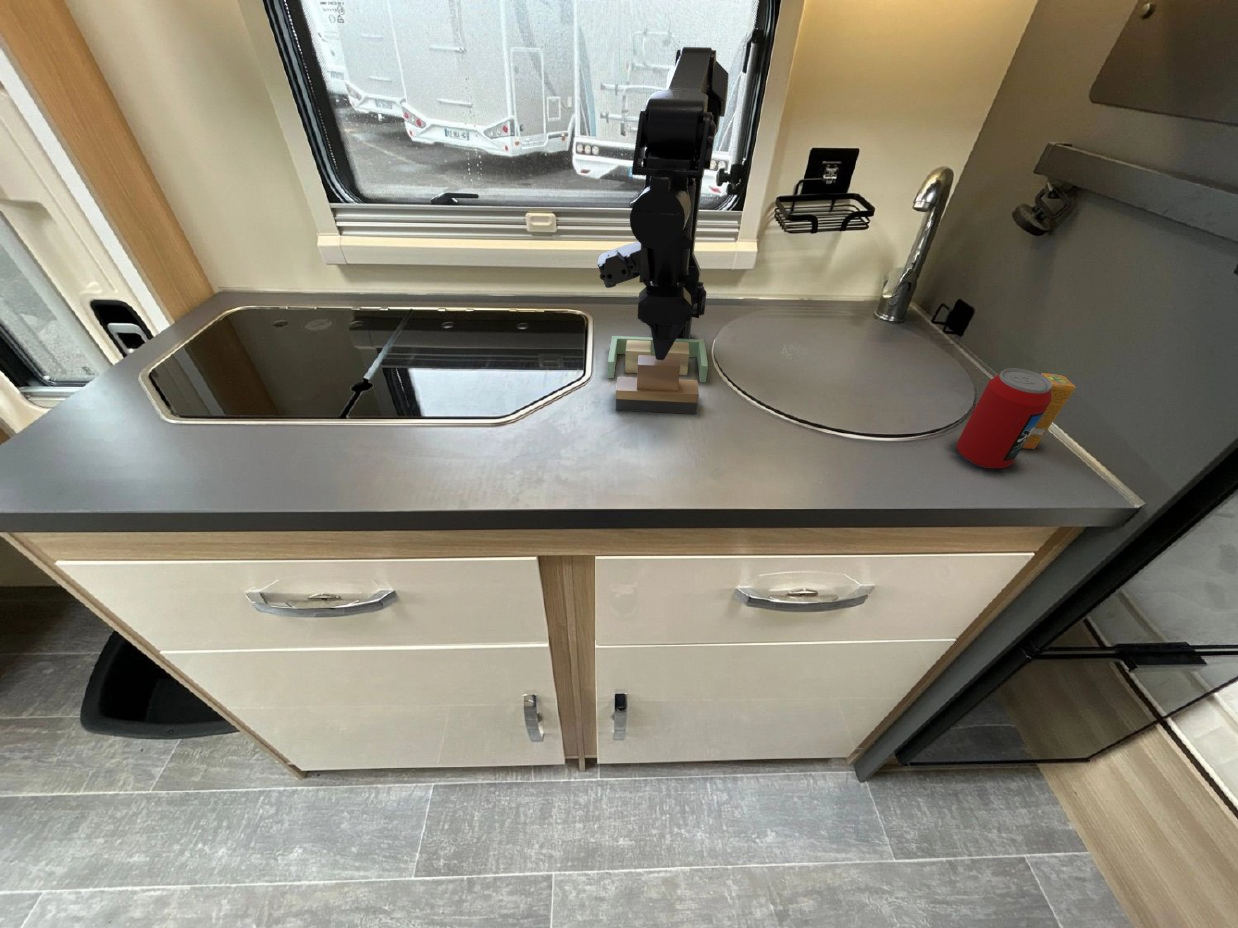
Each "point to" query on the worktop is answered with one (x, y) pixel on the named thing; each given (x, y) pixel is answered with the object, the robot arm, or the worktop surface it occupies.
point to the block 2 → (681, 355)
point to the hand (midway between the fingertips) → (660, 344)
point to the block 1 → (635, 353)
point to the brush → (657, 388)
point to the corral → (620, 343)
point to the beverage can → (1004, 417)
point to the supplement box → (1051, 407)
